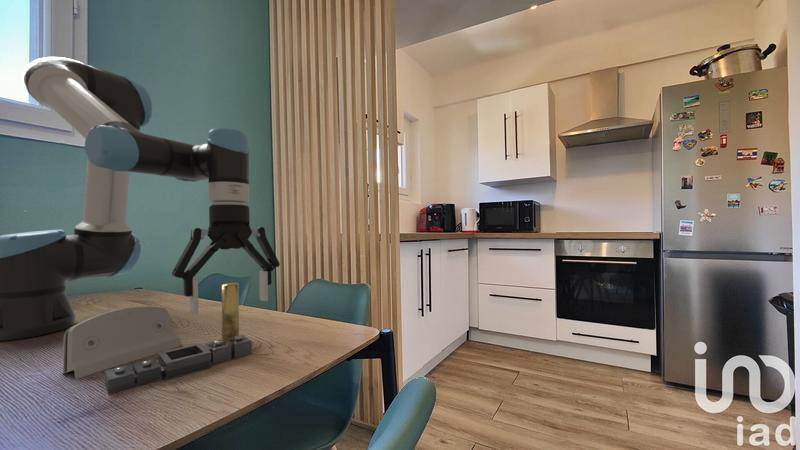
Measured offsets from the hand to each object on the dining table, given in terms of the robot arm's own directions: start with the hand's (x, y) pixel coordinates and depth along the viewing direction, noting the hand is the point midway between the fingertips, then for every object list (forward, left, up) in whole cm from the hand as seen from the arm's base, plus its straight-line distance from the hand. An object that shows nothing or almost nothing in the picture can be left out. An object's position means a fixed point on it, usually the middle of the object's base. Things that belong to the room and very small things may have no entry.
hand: (231, 306), depth 69 cm
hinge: (-6, -17, -8) cm, 19 cm away
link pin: (0, 0, -7) cm, 7 cm away
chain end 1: (+8, -14, -7) cm, 17 cm away
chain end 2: (+8, -7, -7) cm, 13 cm away
